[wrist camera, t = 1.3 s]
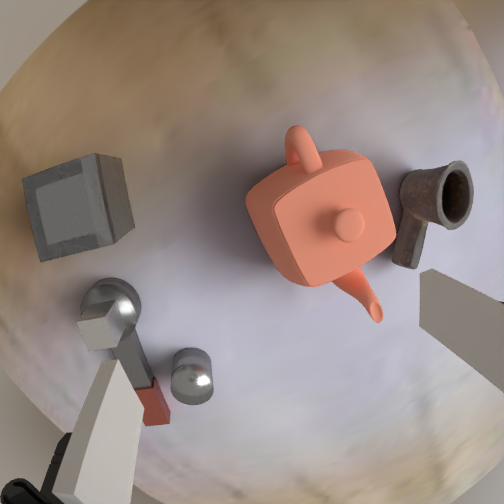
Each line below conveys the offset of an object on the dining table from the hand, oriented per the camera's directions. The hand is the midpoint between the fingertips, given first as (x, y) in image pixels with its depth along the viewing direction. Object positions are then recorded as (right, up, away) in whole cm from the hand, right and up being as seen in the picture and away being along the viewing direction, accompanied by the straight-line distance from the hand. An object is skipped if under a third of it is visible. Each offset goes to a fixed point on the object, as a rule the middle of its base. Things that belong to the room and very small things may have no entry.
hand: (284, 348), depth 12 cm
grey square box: (-17, +9, +16) cm, 25 cm away
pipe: (+17, +9, +22) cm, 29 cm away
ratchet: (-15, -8, +21) cm, 27 cm away
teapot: (+5, +7, +20) cm, 22 cm away
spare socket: (-8, -9, +22) cm, 25 cm away
